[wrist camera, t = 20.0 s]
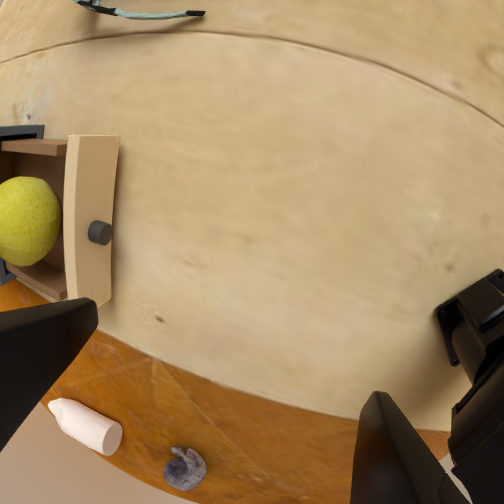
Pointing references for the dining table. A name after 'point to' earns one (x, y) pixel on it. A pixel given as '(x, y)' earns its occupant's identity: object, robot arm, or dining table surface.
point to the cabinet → (10, 132)
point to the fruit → (27, 220)
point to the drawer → (70, 211)
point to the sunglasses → (91, 3)
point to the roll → (87, 425)
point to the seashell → (185, 469)
